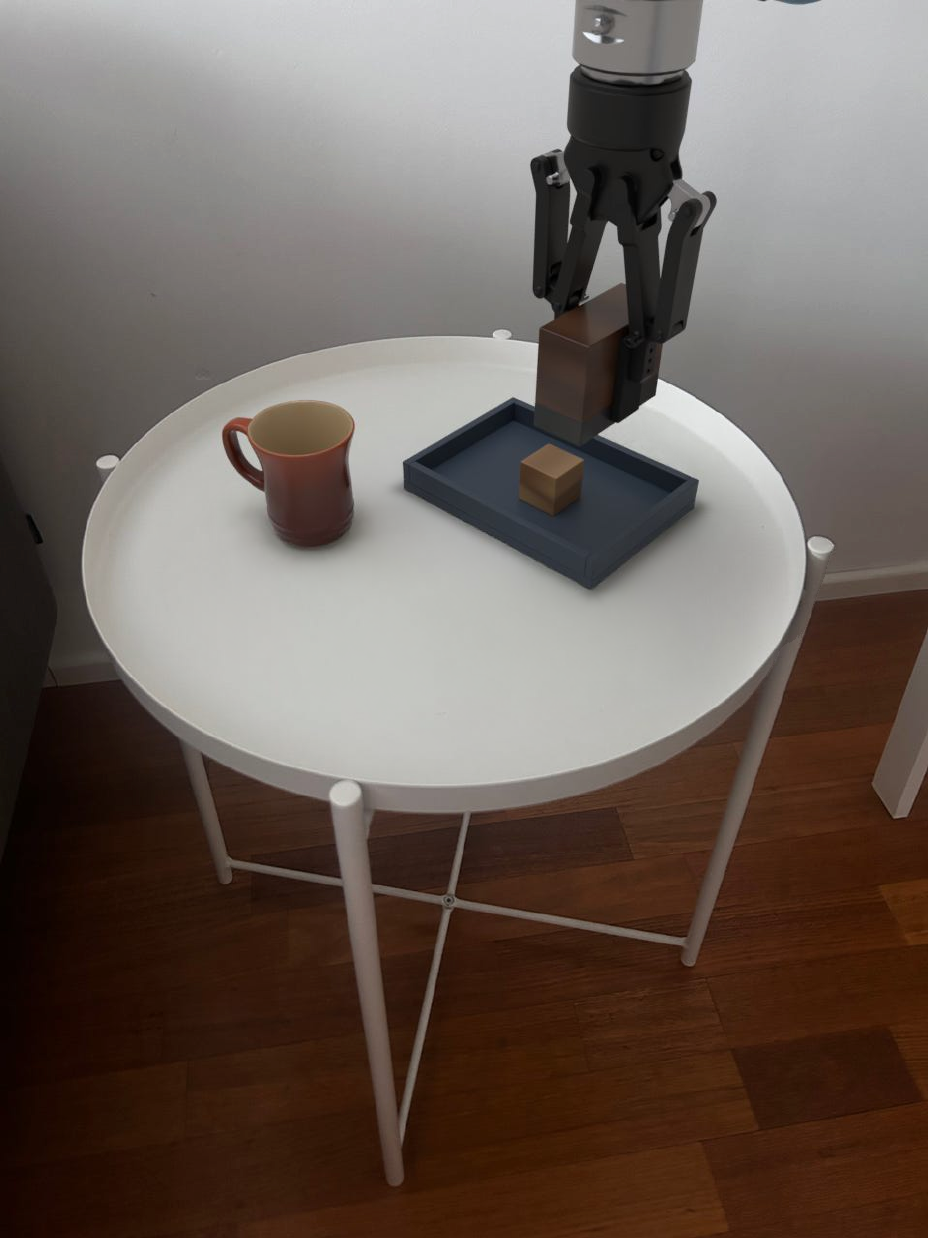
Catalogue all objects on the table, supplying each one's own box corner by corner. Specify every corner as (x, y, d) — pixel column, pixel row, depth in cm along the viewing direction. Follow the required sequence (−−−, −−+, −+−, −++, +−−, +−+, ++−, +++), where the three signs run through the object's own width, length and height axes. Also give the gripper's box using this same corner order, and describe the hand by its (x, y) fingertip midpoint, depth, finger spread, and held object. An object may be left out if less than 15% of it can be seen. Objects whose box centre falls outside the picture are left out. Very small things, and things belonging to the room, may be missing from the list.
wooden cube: (581, 497, 91) (584, 459, 88) (553, 516, 89) (556, 478, 86) (546, 479, 93) (548, 442, 90) (518, 498, 91) (520, 461, 88)
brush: (610, 376, 82) (621, 282, 77) (655, 395, 80) (670, 299, 74) (533, 425, 76) (538, 327, 71) (579, 447, 74) (589, 347, 69)
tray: (694, 507, 91) (699, 479, 89) (590, 590, 83) (594, 561, 81) (511, 422, 102) (513, 396, 100) (403, 488, 94) (402, 461, 92)
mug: (379, 511, 91) (372, 411, 84) (334, 568, 85) (323, 465, 78) (263, 482, 94) (247, 384, 87) (212, 535, 88) (191, 434, 81)
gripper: (484, 54, 64) (479, 382, 80) (724, 110, 56) (665, 465, 71) (556, 32, 68) (538, 349, 84) (790, 81, 60) (721, 423, 75)
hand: (596, 402), depth 78 cm, fingers closed on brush, 4 cm apart
